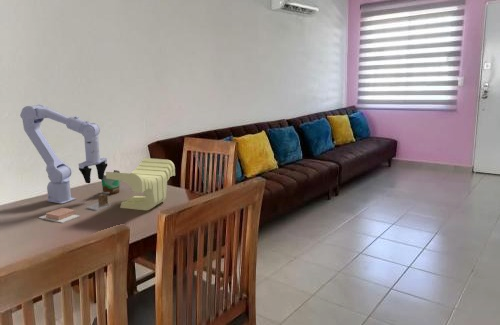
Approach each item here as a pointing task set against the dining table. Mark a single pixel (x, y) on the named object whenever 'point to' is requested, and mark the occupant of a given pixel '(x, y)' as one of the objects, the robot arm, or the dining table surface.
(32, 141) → the robot arm
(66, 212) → the tile
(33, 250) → the dining table surface
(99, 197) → the turner
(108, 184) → the food container
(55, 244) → the dining table surface
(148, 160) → the slatted curved stool
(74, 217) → the mat
